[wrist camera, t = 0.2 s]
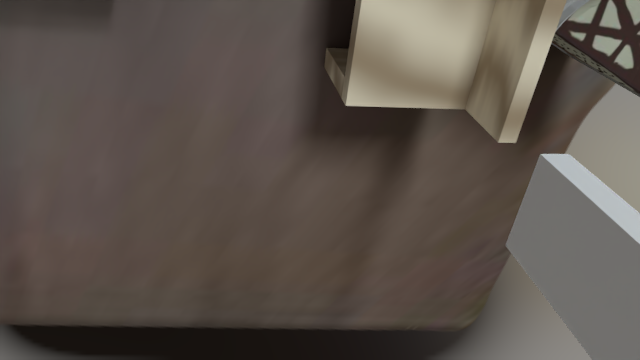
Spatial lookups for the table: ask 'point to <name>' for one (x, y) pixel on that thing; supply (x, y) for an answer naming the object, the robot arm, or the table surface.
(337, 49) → the shelf
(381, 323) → the table surface
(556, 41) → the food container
